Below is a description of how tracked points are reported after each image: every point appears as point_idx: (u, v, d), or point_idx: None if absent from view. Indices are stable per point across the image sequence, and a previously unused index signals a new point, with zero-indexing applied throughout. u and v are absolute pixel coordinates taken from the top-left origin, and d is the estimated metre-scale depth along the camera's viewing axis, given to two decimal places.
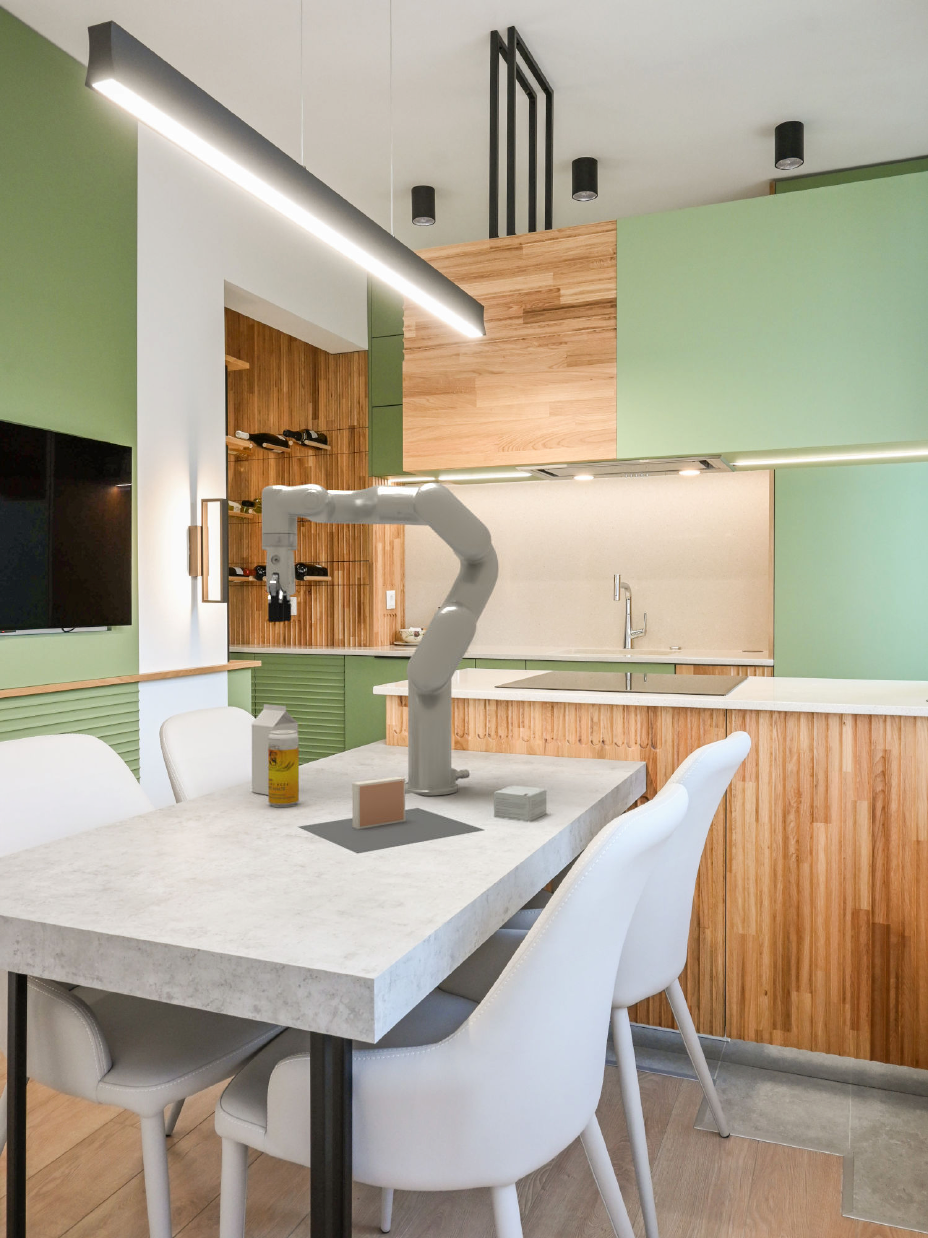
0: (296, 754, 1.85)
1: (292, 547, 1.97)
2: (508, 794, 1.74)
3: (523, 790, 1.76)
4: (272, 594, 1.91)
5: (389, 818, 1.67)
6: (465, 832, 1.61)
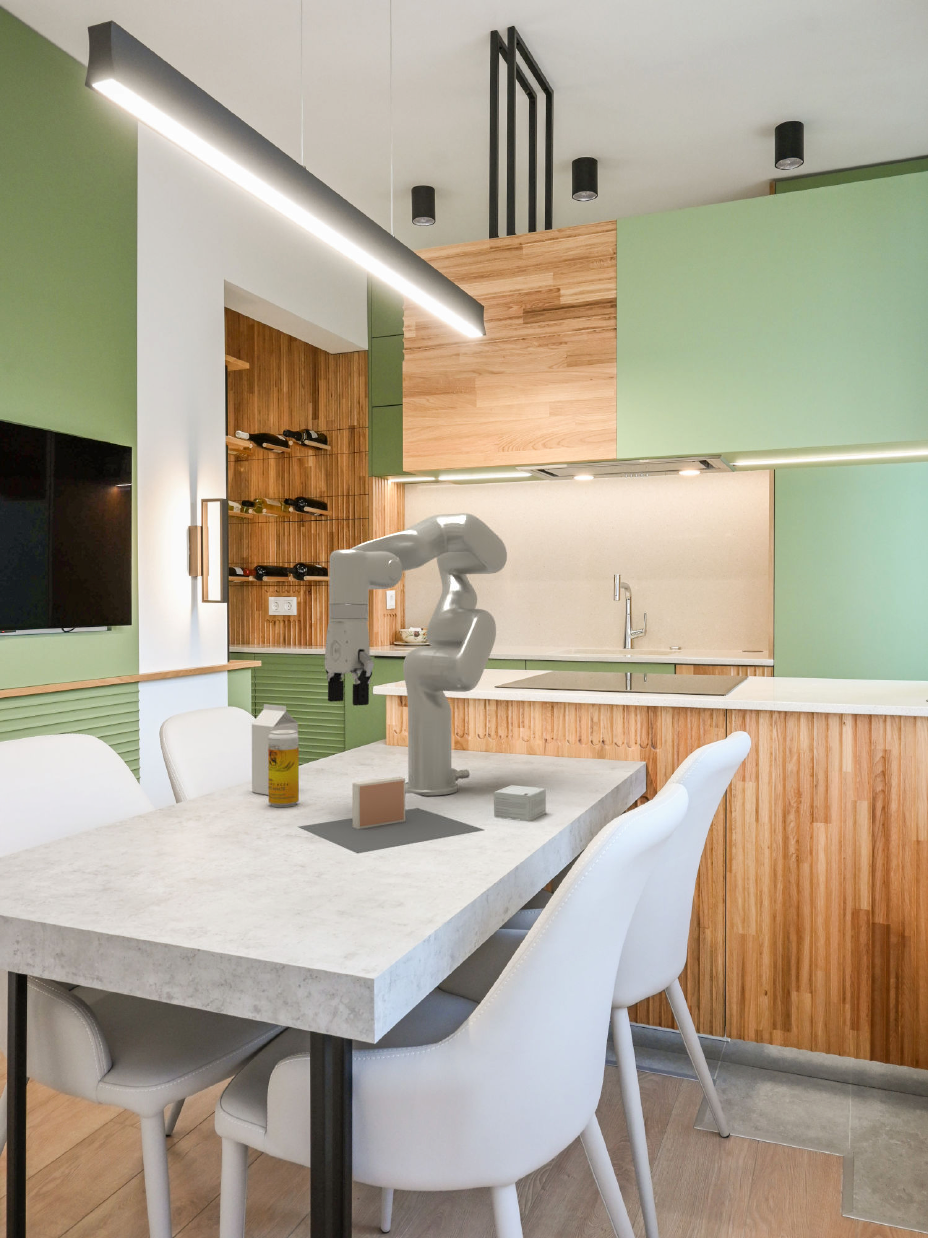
0: (296, 754, 1.85)
1: (329, 619, 1.75)
2: (508, 794, 1.74)
3: (523, 790, 1.76)
4: None
5: (389, 818, 1.67)
6: (465, 832, 1.61)
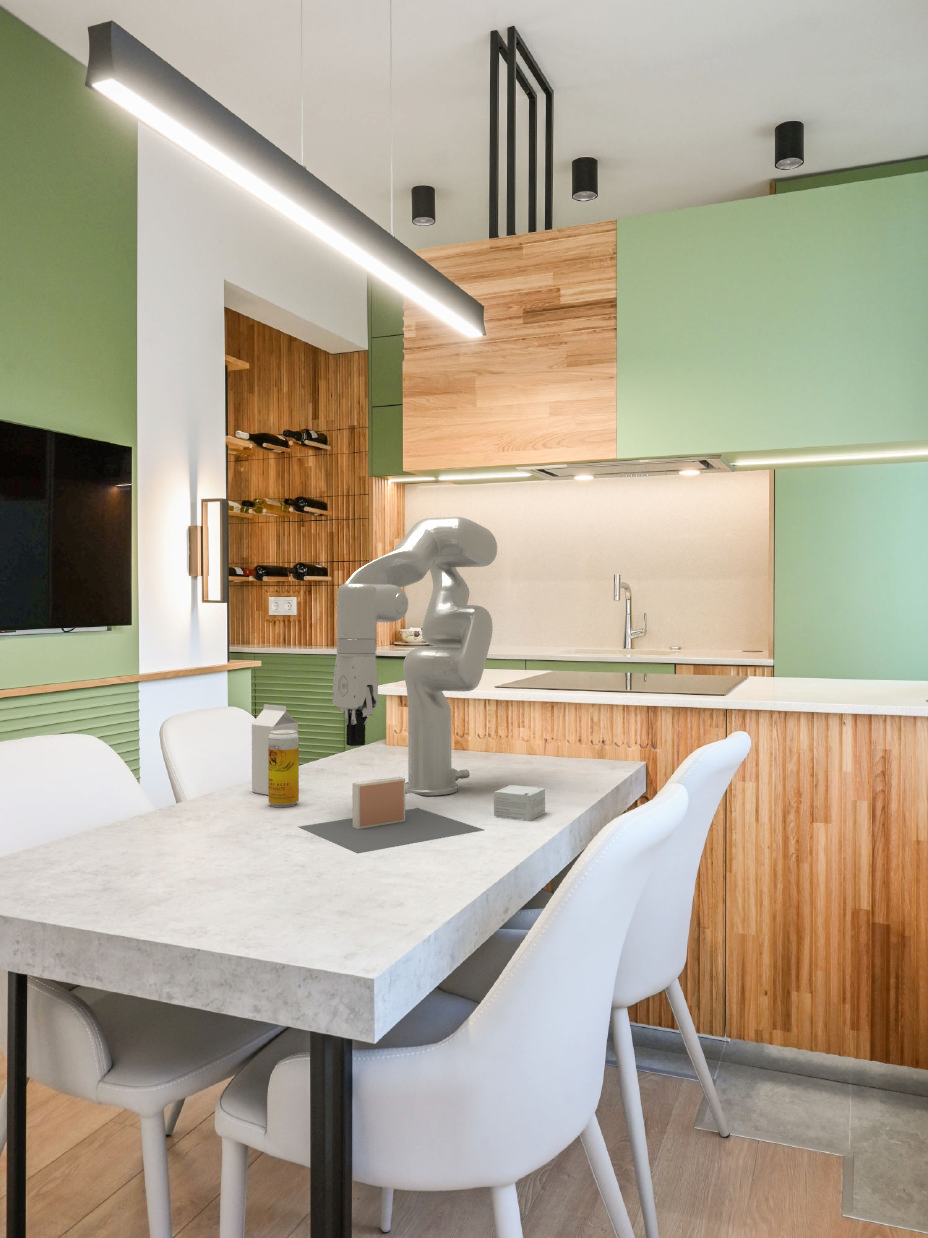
0: (296, 754, 1.85)
1: None
2: (508, 794, 1.74)
3: (522, 789, 1.77)
4: None
5: (389, 818, 1.67)
6: (465, 832, 1.61)
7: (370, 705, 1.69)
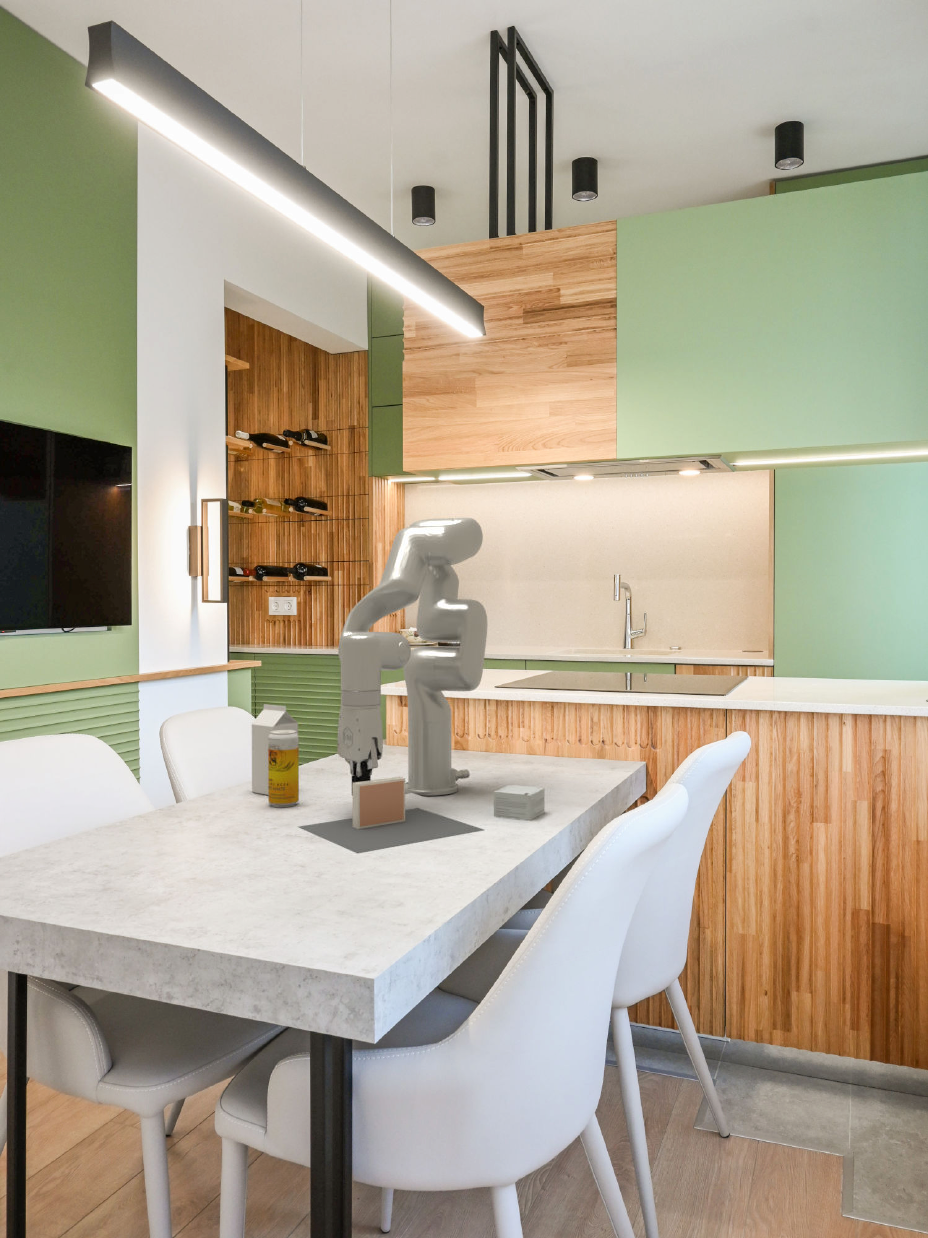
0: (296, 754, 1.85)
1: None
2: (508, 793, 1.74)
3: (522, 789, 1.77)
4: None
5: (389, 818, 1.67)
6: (465, 832, 1.61)
7: (375, 757, 1.68)
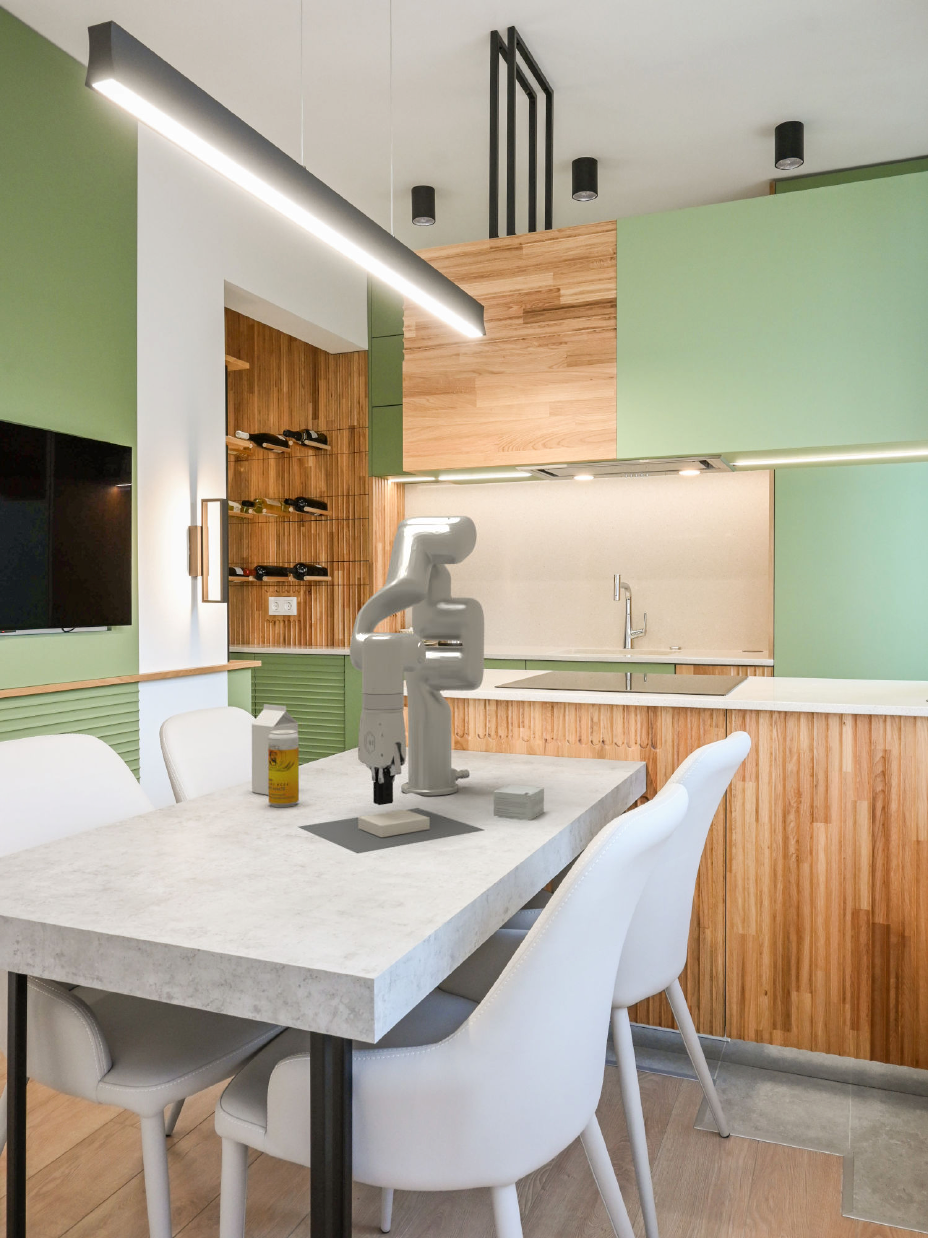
0: (296, 754, 1.85)
1: None
2: (508, 793, 1.74)
3: (522, 789, 1.77)
4: None
5: None
6: (465, 832, 1.61)
7: (398, 763, 1.62)
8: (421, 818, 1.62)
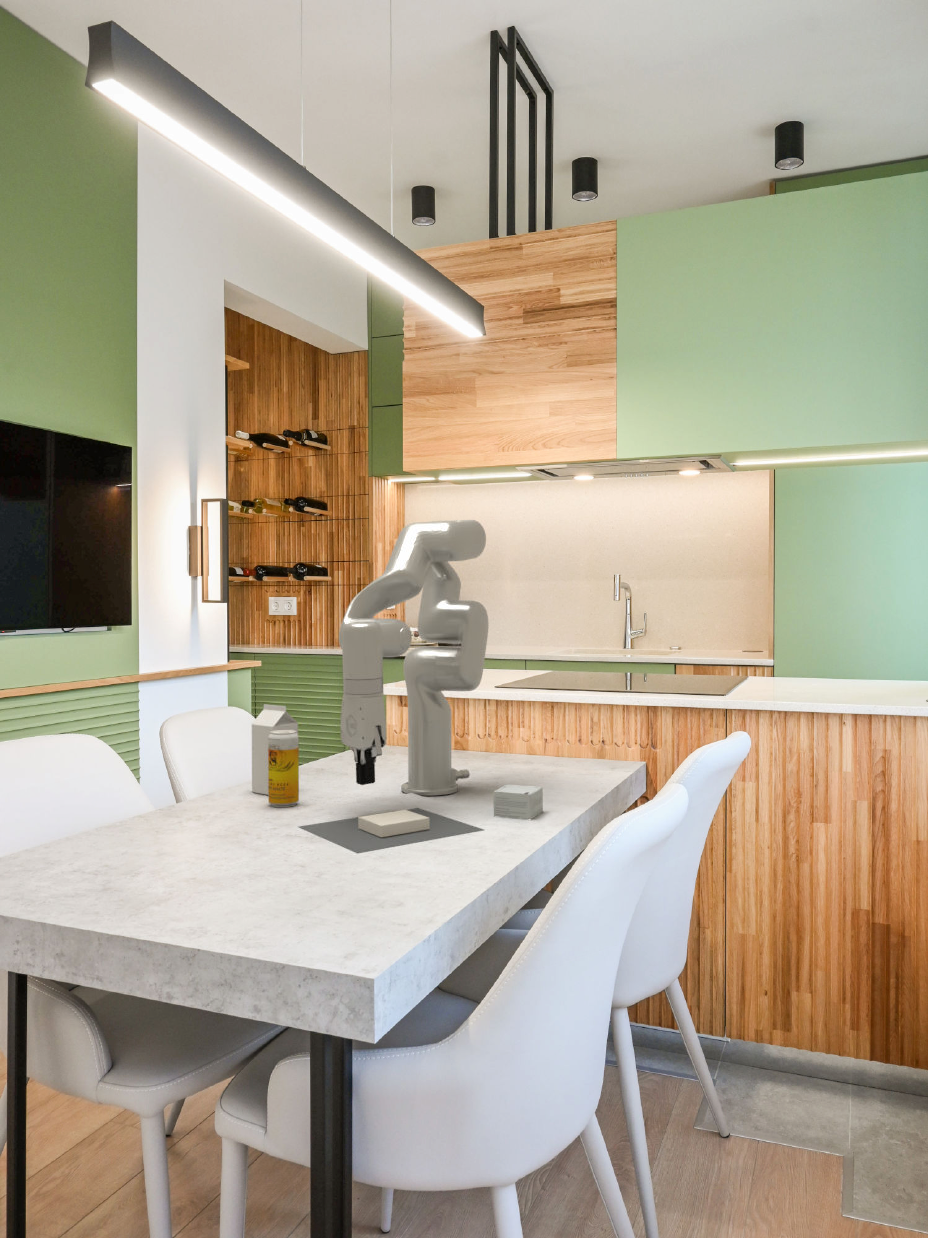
0: (296, 754, 1.85)
1: None
2: (508, 793, 1.75)
3: (521, 789, 1.77)
4: None
5: None
6: (465, 832, 1.61)
7: (379, 745, 1.69)
8: (421, 818, 1.62)
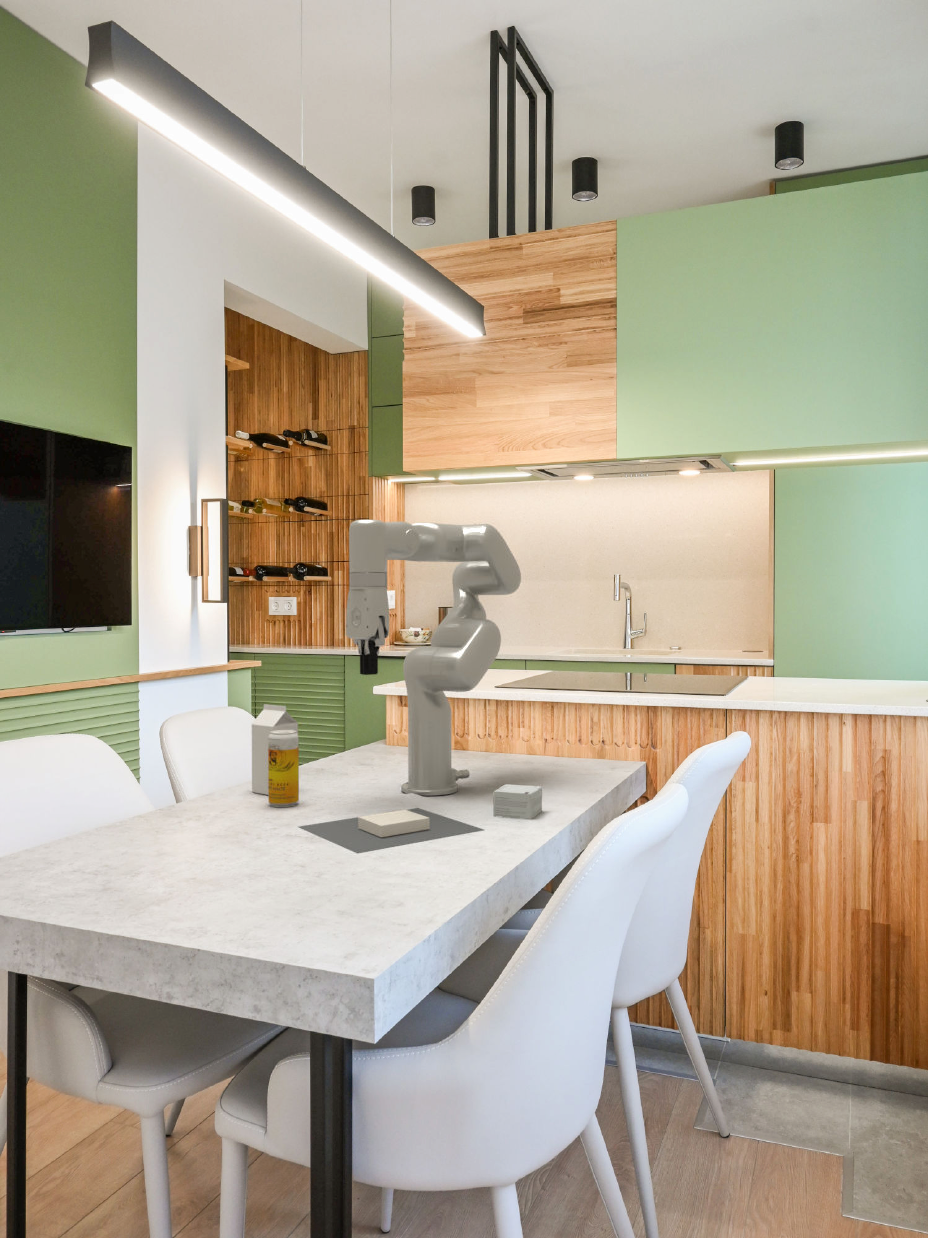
0: (296, 754, 1.85)
1: None
2: (508, 793, 1.75)
3: (521, 788, 1.78)
4: None
5: None
6: (465, 832, 1.61)
7: (382, 635, 1.78)
8: (421, 818, 1.62)
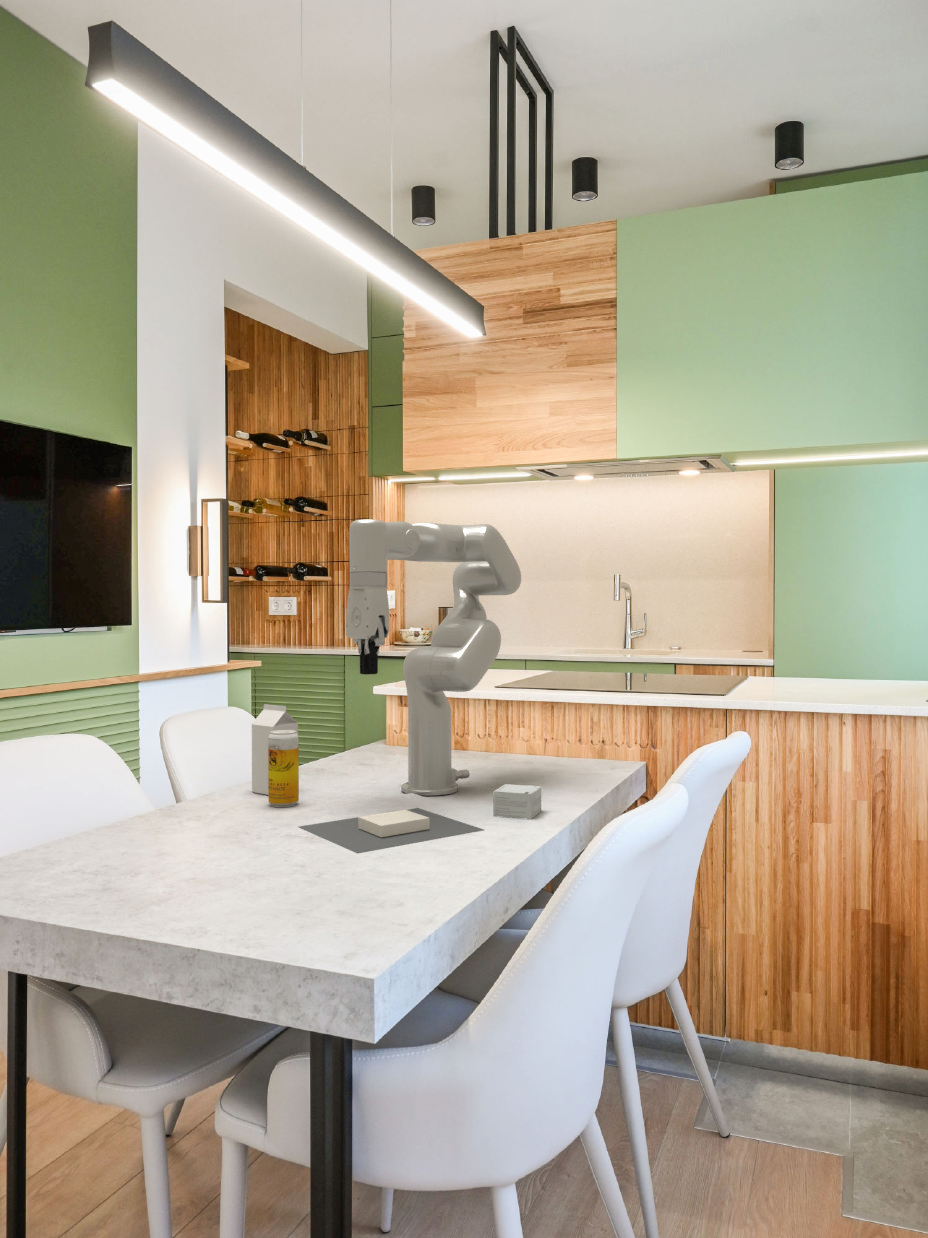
0: (296, 754, 1.85)
1: None
2: (508, 793, 1.75)
3: (521, 788, 1.78)
4: None
5: None
6: (465, 832, 1.61)
7: (382, 634, 1.78)
8: (421, 818, 1.62)
